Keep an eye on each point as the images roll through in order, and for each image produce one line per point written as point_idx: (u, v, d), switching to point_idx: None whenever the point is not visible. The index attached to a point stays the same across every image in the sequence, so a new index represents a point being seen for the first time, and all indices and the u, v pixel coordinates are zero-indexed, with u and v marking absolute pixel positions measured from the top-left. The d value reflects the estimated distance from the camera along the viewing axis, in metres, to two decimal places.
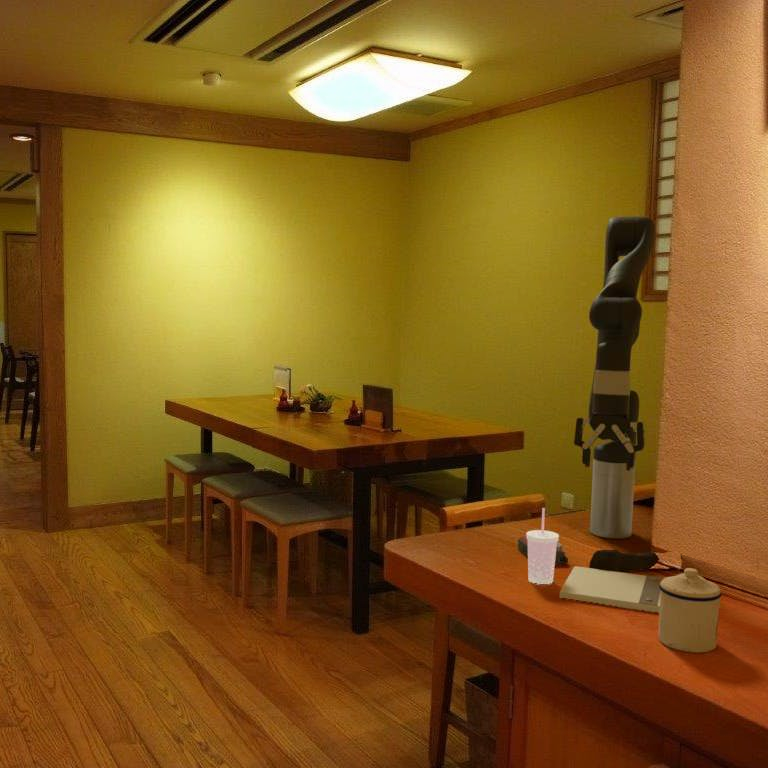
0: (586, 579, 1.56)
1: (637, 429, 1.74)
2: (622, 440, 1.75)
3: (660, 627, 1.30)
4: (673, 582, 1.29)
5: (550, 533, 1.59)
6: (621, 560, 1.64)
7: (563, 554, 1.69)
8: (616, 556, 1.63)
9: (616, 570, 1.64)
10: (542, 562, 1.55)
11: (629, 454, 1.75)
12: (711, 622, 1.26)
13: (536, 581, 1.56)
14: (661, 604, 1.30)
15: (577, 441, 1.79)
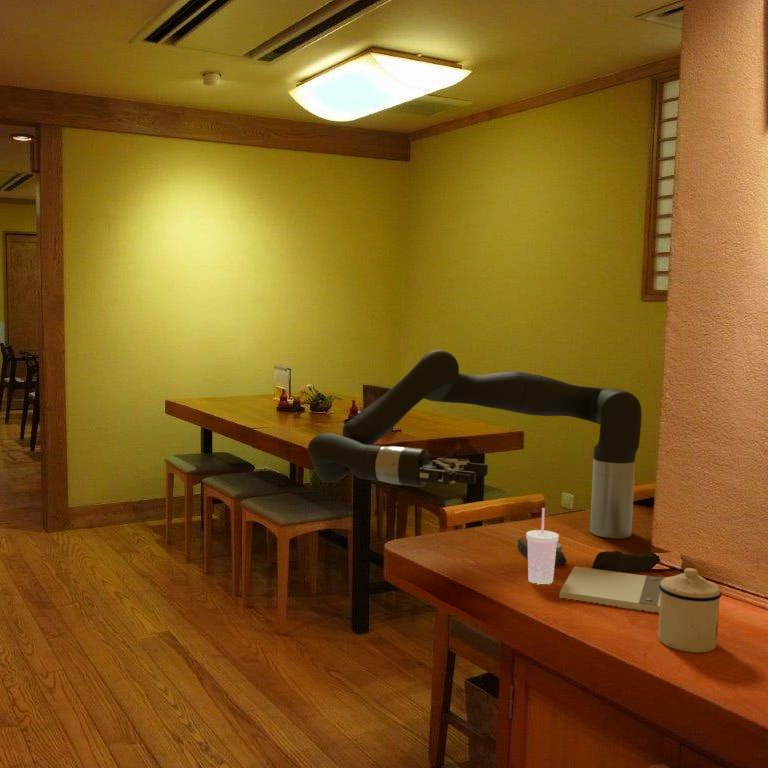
0: (586, 579, 1.56)
1: None
2: None
3: (660, 627, 1.30)
4: (673, 582, 1.29)
5: (550, 533, 1.59)
6: (623, 561, 1.63)
7: (561, 555, 1.69)
8: (619, 558, 1.62)
9: None
10: (542, 562, 1.55)
11: (457, 481, 1.58)
12: (711, 622, 1.26)
13: (536, 581, 1.56)
14: (661, 604, 1.30)
15: None
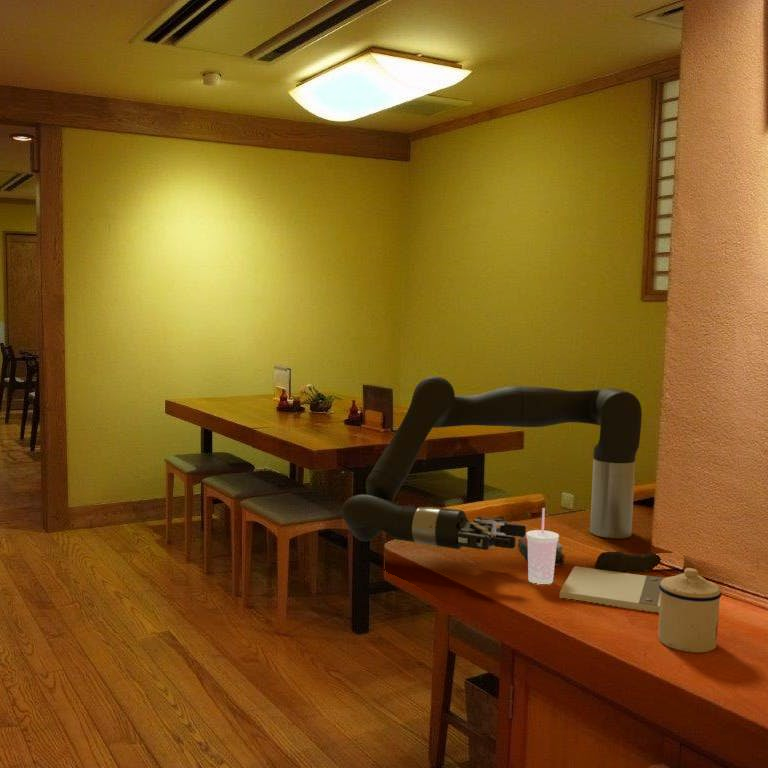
0: (586, 579, 1.56)
1: None
2: None
3: (660, 627, 1.30)
4: (673, 582, 1.29)
5: (550, 533, 1.59)
6: (625, 561, 1.63)
7: (559, 555, 1.68)
8: (621, 558, 1.62)
9: None
10: (542, 562, 1.55)
11: (496, 546, 1.56)
12: (711, 622, 1.26)
13: (536, 581, 1.56)
14: (661, 604, 1.30)
15: None
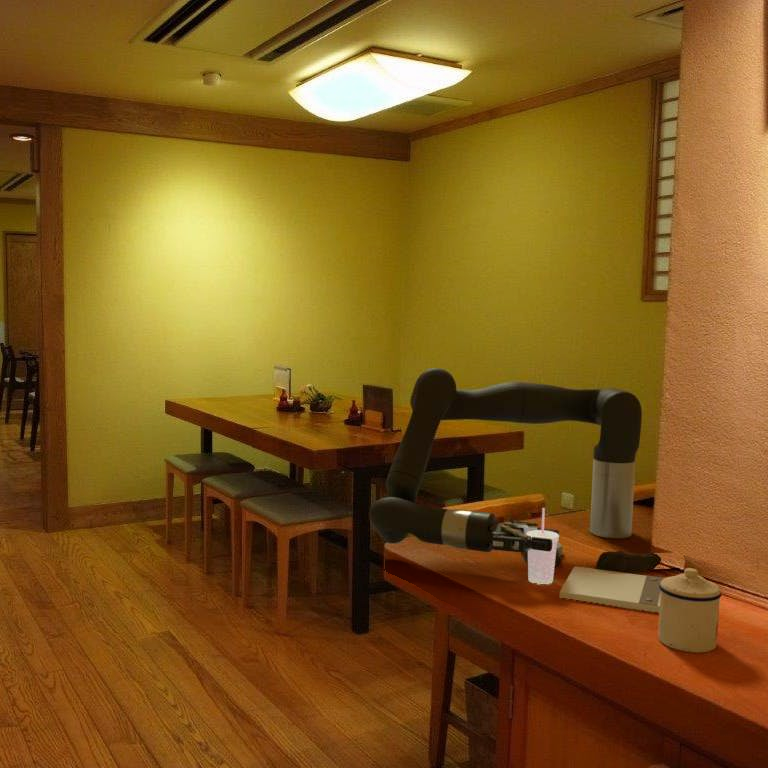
0: (586, 579, 1.56)
1: None
2: None
3: (660, 627, 1.30)
4: (673, 582, 1.29)
5: (550, 533, 1.59)
6: (626, 561, 1.63)
7: (557, 555, 1.68)
8: (622, 558, 1.62)
9: (622, 572, 1.63)
10: (542, 562, 1.55)
11: (532, 548, 1.55)
12: (711, 622, 1.26)
13: (536, 581, 1.56)
14: (661, 604, 1.30)
15: None
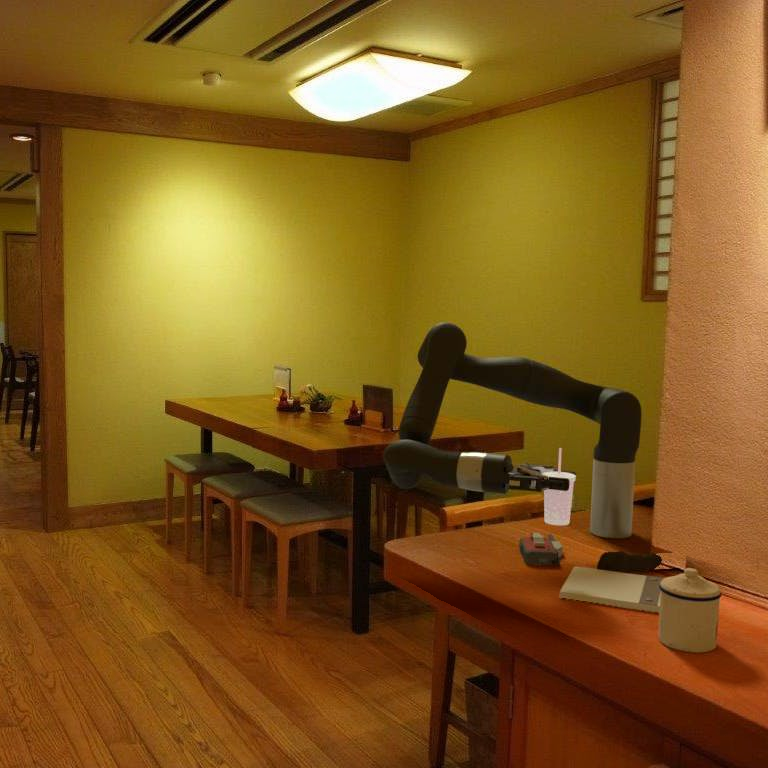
0: (586, 579, 1.56)
1: None
2: None
3: (660, 627, 1.30)
4: (673, 582, 1.29)
5: (567, 474, 1.57)
6: (628, 561, 1.62)
7: (555, 556, 1.68)
8: (623, 558, 1.62)
9: (623, 572, 1.62)
10: (559, 502, 1.53)
11: (549, 488, 1.53)
12: (711, 622, 1.26)
13: (553, 521, 1.54)
14: (661, 604, 1.30)
15: None
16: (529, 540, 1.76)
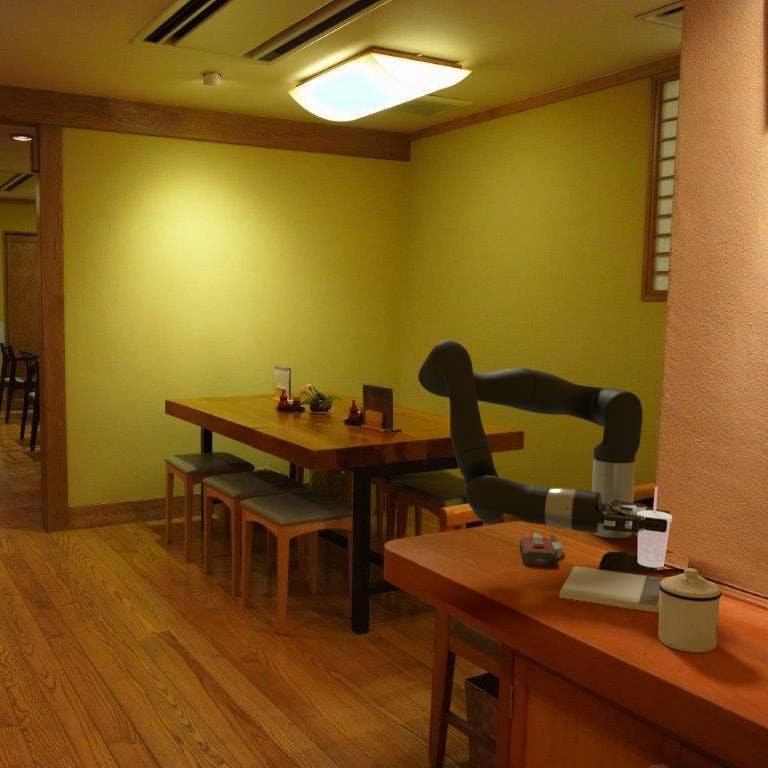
0: (586, 579, 1.56)
1: None
2: None
3: (660, 627, 1.30)
4: (673, 582, 1.29)
5: (661, 513, 1.51)
6: (630, 561, 1.62)
7: (553, 556, 1.68)
8: (625, 558, 1.62)
9: (625, 572, 1.62)
10: (655, 544, 1.47)
11: (645, 529, 1.47)
12: (711, 622, 1.26)
13: (648, 563, 1.48)
14: (661, 604, 1.30)
15: None
16: (529, 540, 1.75)
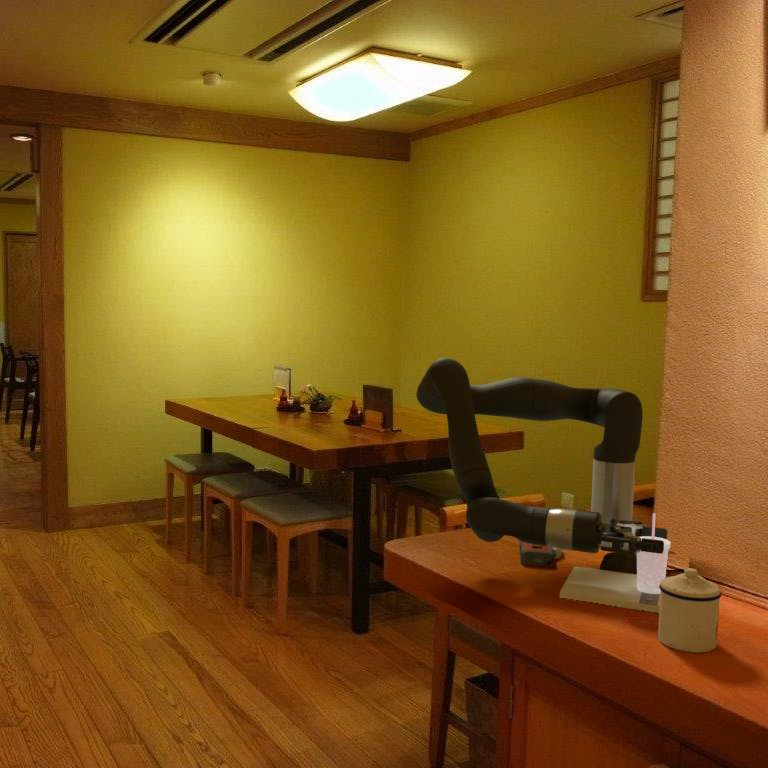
0: (586, 579, 1.56)
1: None
2: None
3: (660, 627, 1.30)
4: (673, 582, 1.29)
5: (660, 539, 1.51)
6: (631, 562, 1.62)
7: (551, 556, 1.67)
8: (626, 559, 1.62)
9: None
10: (654, 570, 1.48)
11: (642, 550, 1.46)
12: (711, 622, 1.26)
13: (647, 590, 1.49)
14: (661, 604, 1.30)
15: None
16: None
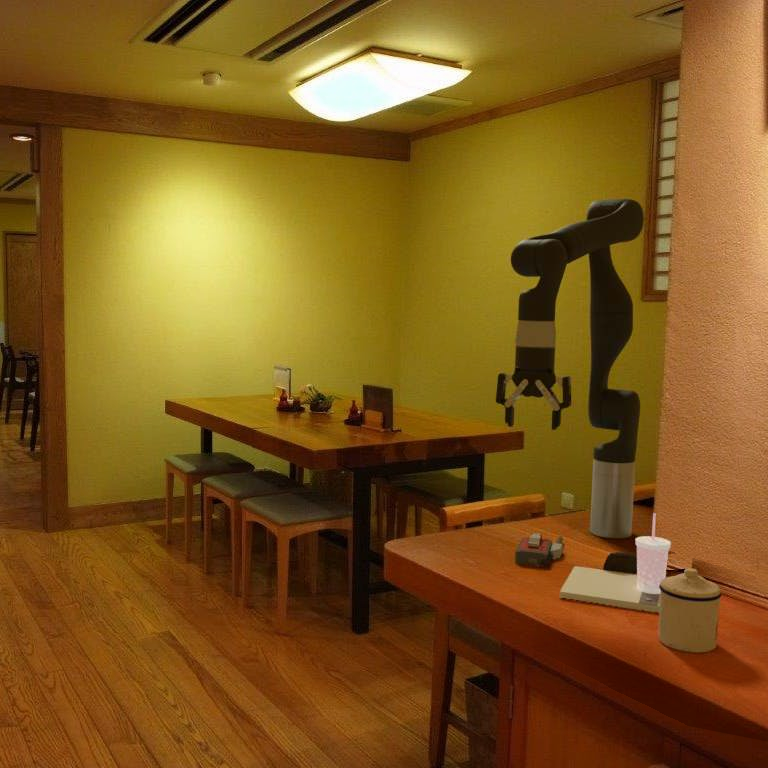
0: (586, 579, 1.56)
1: (563, 384, 1.59)
2: (547, 397, 1.59)
3: (660, 627, 1.30)
4: (673, 582, 1.29)
5: (660, 539, 1.51)
6: (634, 562, 1.62)
7: (545, 557, 1.67)
8: (629, 559, 1.62)
9: (629, 573, 1.62)
10: (654, 570, 1.48)
11: (554, 412, 1.60)
12: (711, 622, 1.26)
13: (647, 590, 1.49)
14: (661, 604, 1.30)
15: (499, 399, 1.63)
16: (528, 540, 1.75)
